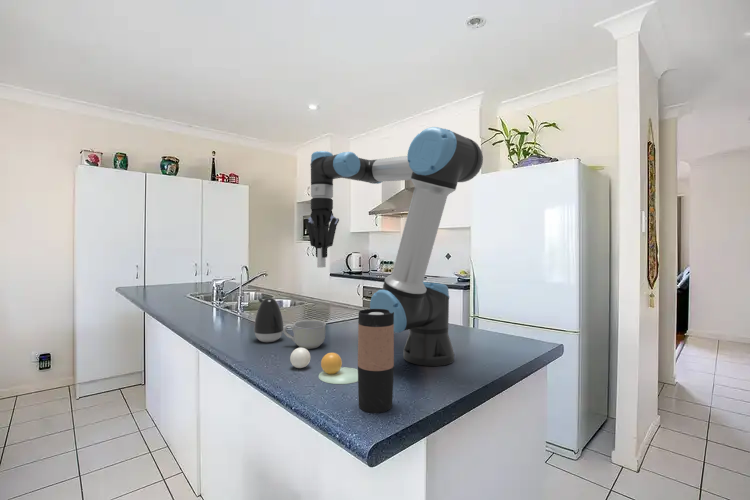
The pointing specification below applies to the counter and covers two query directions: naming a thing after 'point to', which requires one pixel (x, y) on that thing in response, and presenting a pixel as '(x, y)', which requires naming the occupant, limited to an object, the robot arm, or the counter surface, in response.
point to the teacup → (307, 333)
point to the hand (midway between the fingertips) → (321, 267)
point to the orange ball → (331, 363)
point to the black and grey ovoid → (268, 321)
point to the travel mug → (375, 359)
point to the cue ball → (300, 357)
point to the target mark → (340, 376)
